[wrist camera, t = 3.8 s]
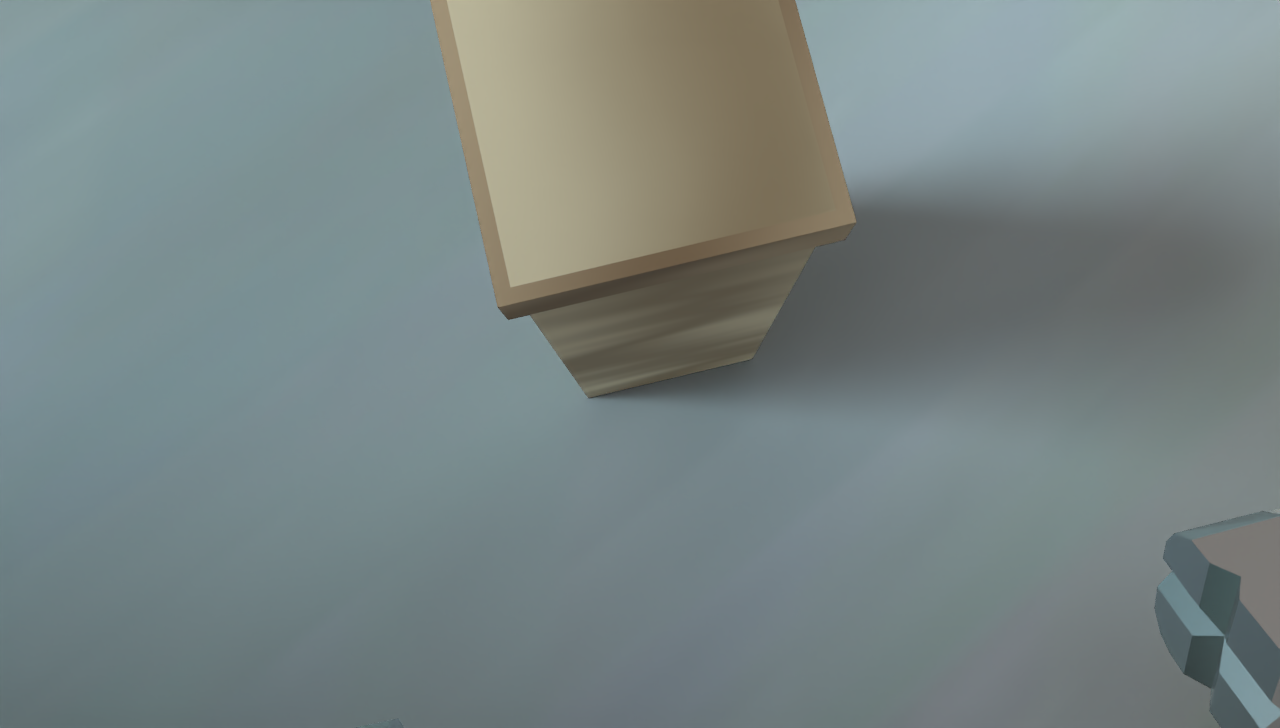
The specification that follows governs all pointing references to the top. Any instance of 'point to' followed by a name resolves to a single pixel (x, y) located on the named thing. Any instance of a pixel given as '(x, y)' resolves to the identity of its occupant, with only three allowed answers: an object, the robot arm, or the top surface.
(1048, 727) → the top surface
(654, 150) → the peg
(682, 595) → the top surface
